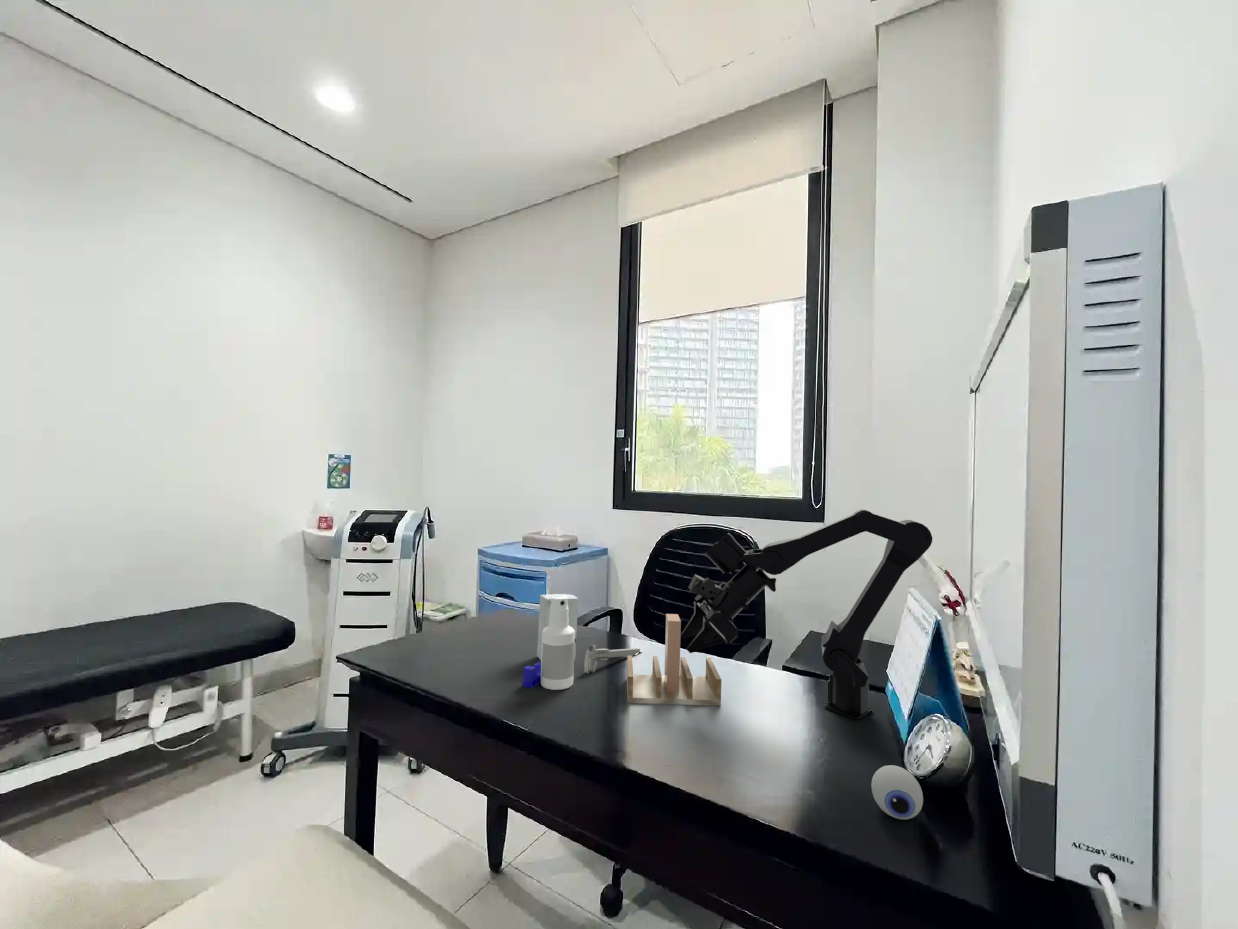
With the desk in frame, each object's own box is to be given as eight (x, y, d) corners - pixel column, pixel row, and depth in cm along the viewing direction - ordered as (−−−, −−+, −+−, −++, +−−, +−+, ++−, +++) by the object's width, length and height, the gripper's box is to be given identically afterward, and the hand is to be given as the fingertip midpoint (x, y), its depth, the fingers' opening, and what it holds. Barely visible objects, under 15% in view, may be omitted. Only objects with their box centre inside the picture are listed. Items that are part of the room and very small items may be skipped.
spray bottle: (547, 693, 103) (549, 602, 103) (535, 680, 109) (538, 595, 110) (578, 687, 106) (581, 599, 107) (565, 675, 112) (568, 592, 113)
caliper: (587, 676, 113) (588, 647, 113) (583, 674, 114) (584, 646, 114) (642, 653, 129) (643, 628, 129) (639, 652, 130) (640, 627, 130)
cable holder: (538, 673, 114) (539, 655, 114) (551, 676, 112) (552, 657, 112) (516, 686, 106) (517, 666, 107) (531, 689, 105) (531, 669, 105)
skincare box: (542, 664, 118) (544, 599, 119) (536, 656, 124) (538, 594, 124) (577, 660, 122) (579, 597, 122) (569, 652, 127) (571, 592, 128)
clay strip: (676, 681, 108) (677, 614, 109) (679, 692, 103) (680, 621, 103) (664, 681, 108) (666, 613, 109) (666, 691, 103) (668, 621, 103)
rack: (710, 681, 111) (710, 658, 111) (720, 705, 99) (721, 679, 99) (626, 678, 111) (627, 655, 112) (627, 702, 99) (628, 676, 100)
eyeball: (873, 822, 66) (874, 774, 66) (868, 796, 72) (869, 752, 72) (927, 835, 64) (927, 786, 64) (918, 807, 70) (918, 762, 70)
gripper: (705, 555, 115) (655, 604, 115) (721, 570, 97) (661, 628, 96) (739, 591, 115) (689, 640, 115) (763, 613, 96) (703, 671, 96)
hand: (685, 643), depth 106 cm, fingers open, 9 cm apart
